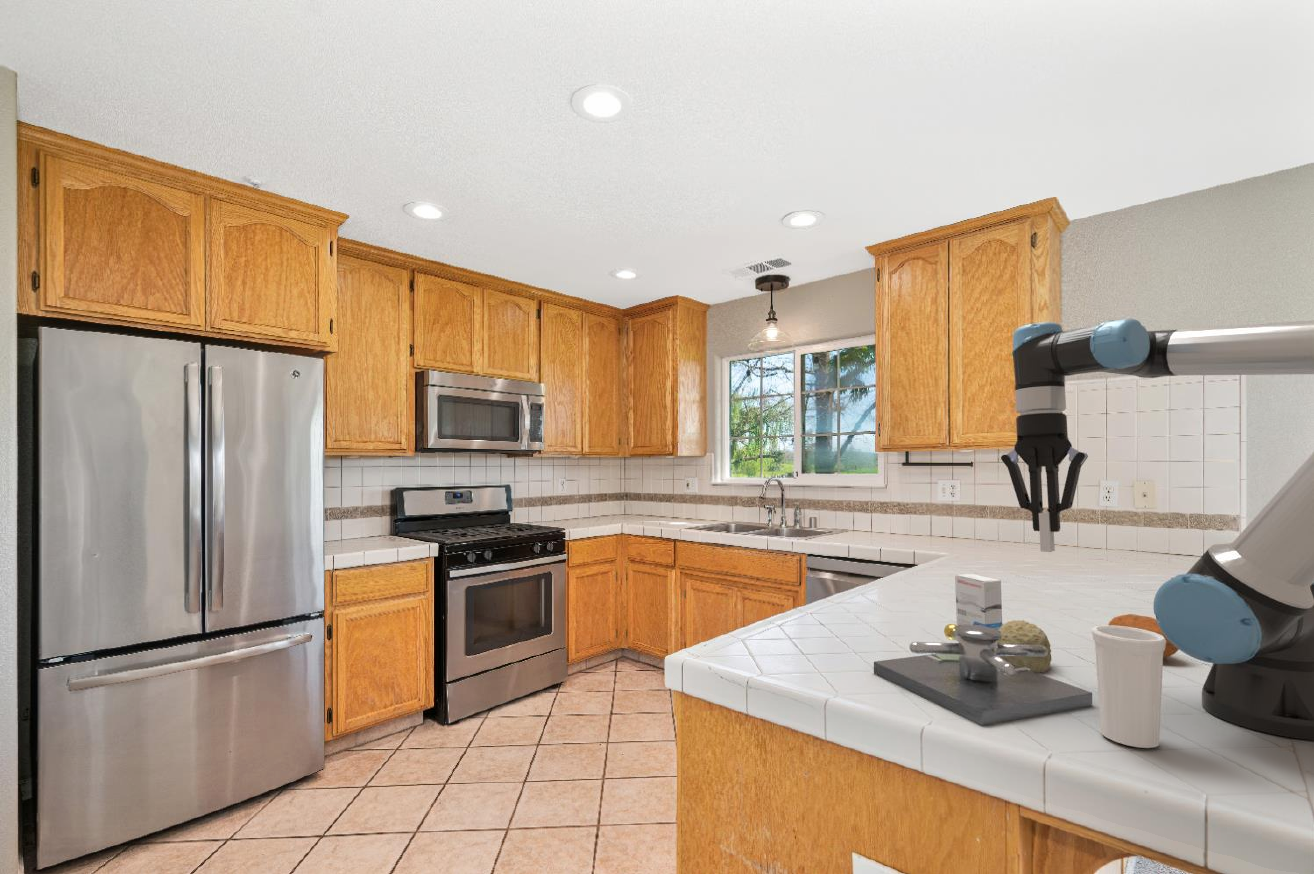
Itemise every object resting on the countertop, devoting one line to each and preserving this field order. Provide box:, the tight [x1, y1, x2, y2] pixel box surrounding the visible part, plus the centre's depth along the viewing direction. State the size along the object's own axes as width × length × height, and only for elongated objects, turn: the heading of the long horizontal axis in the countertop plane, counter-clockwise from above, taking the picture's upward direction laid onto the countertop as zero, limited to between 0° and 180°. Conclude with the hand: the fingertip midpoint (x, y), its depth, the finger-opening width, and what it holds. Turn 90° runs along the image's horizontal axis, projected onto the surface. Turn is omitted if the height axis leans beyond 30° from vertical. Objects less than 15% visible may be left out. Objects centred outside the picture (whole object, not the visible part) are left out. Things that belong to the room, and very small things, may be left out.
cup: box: [1091, 624, 1166, 749], centre depth 85 cm, size 8×8×14 cm
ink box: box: [954, 573, 1003, 630], centre depth 139 cm, size 9×5×12 cm, turn 17°
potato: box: [1108, 613, 1180, 659], centre depth 122 cm, size 9×11×8 cm
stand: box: [873, 654, 1093, 727], centre depth 104 cm, size 23×22×2 cm
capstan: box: [908, 623, 1048, 681], centre depth 104 cm, size 22×22×7 cm
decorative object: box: [997, 619, 1052, 674], centre depth 116 cm, size 9×10×10 cm
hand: (1047, 550), depth 109 cm, fingers closed
